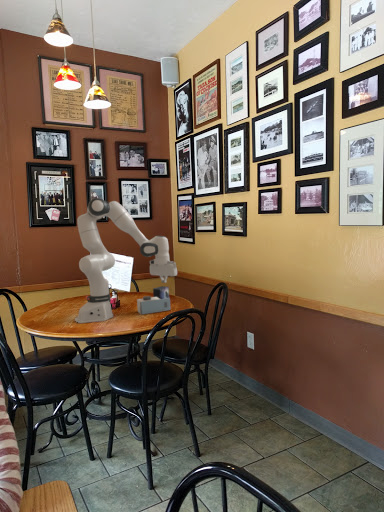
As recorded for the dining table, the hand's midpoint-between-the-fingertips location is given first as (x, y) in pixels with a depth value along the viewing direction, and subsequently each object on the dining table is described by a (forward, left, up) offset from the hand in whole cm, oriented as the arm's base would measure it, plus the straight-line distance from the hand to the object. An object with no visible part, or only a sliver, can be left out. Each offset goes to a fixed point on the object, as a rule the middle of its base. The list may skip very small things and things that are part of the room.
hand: (164, 282), depth 227 cm
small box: (+5, +23, -18) cm, 30 cm away
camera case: (-10, +2, -18) cm, 21 cm away
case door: (-7, -3, -17) cm, 19 cm away
